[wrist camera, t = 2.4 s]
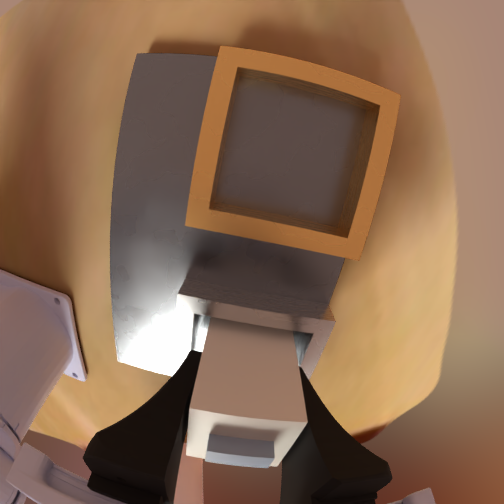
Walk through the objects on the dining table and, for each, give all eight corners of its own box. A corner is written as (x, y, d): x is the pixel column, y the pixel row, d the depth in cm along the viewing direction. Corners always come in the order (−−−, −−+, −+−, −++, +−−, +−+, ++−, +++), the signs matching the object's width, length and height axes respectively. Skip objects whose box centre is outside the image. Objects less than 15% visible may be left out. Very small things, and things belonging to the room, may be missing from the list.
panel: (123, 351, 16) (109, 376, 14) (145, 59, 10) (122, 44, 8) (288, 384, 17) (291, 413, 14) (376, 102, 11) (400, 94, 8)
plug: (204, 366, 15) (183, 469, 8) (212, 310, 13) (185, 426, 7) (272, 377, 15) (277, 480, 9) (291, 324, 14) (310, 440, 7)
